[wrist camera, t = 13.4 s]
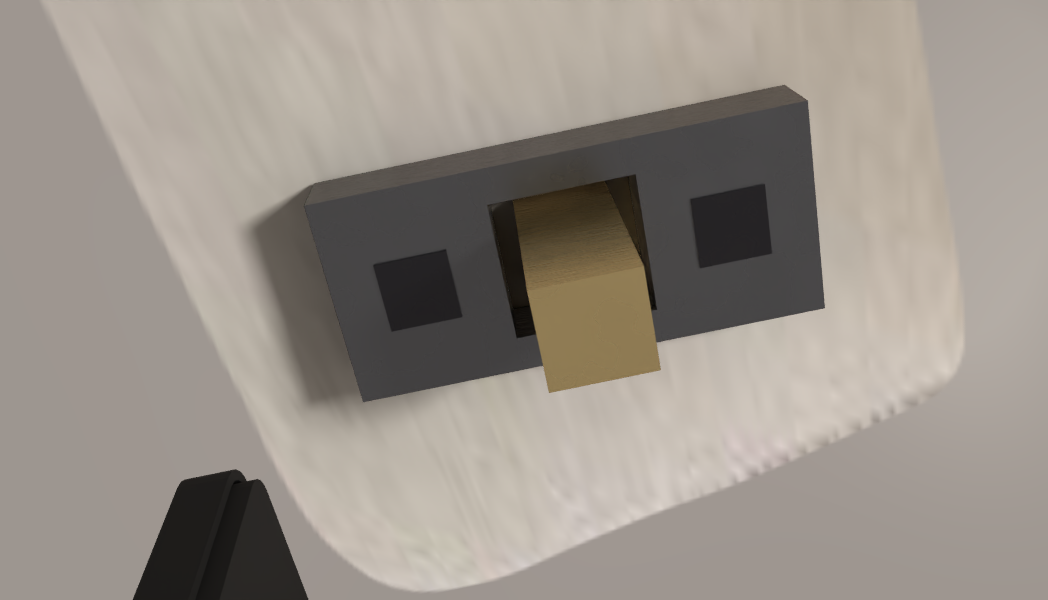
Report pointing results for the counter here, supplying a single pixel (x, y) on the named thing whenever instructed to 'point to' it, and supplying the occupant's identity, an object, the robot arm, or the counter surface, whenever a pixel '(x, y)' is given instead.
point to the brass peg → (585, 288)
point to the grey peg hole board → (554, 164)
